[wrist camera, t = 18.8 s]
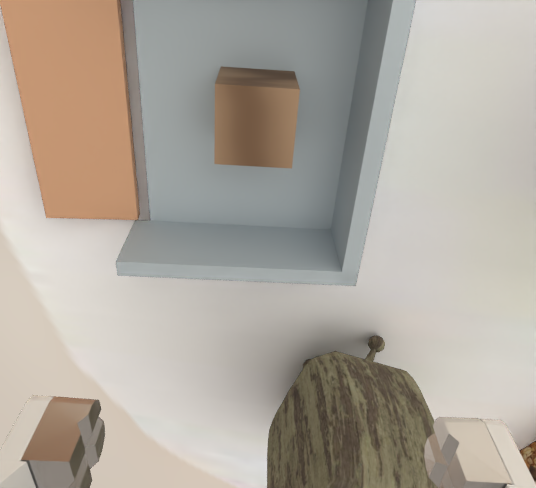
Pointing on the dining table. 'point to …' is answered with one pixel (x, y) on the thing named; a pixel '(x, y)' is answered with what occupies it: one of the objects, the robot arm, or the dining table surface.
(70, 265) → the dining table surface
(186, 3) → the blue-grey open tray
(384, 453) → the tabletop clock
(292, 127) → the walnut block
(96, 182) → the panel
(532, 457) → the bread
